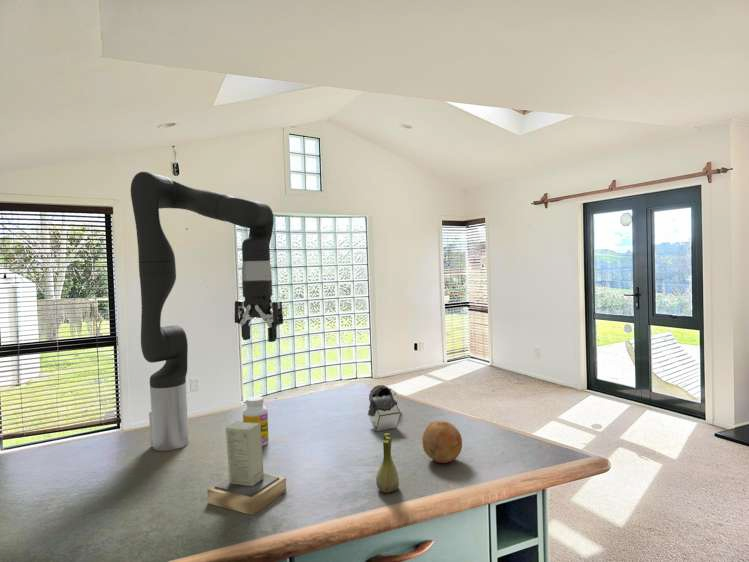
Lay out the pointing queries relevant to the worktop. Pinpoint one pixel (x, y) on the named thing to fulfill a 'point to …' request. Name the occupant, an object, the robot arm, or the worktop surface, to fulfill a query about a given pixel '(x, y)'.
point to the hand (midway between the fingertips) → (259, 340)
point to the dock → (247, 494)
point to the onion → (442, 441)
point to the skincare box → (244, 453)
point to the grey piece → (383, 408)
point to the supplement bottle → (257, 415)
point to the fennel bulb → (387, 469)
